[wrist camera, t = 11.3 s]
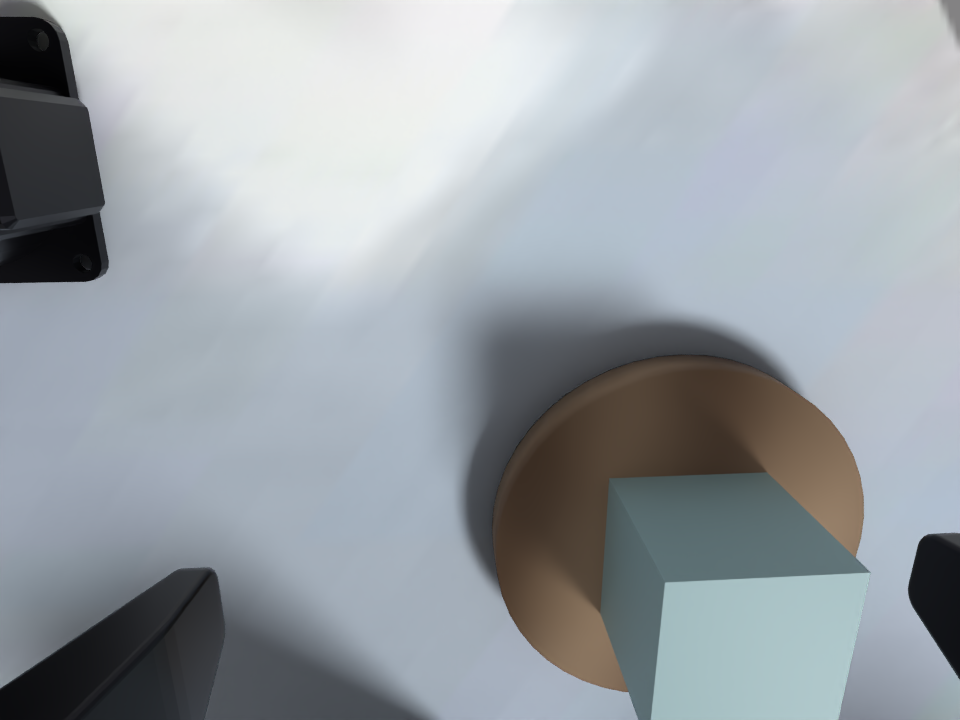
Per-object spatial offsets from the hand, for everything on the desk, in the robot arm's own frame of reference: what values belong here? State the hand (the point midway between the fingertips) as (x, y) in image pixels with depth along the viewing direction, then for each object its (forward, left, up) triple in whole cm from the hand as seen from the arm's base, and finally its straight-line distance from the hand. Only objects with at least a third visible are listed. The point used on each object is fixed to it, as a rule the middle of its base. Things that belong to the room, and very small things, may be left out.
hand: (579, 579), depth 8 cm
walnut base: (+6, -7, -12) cm, 15 cm away
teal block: (+6, -7, -10) cm, 14 cm away
